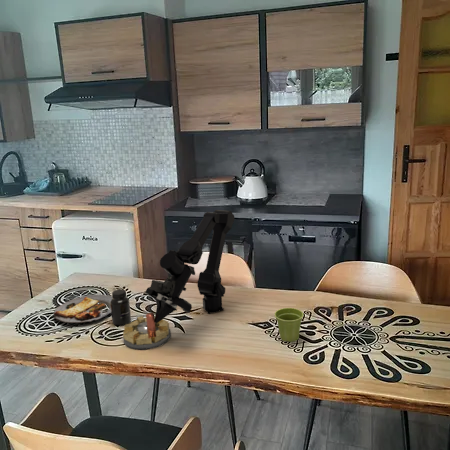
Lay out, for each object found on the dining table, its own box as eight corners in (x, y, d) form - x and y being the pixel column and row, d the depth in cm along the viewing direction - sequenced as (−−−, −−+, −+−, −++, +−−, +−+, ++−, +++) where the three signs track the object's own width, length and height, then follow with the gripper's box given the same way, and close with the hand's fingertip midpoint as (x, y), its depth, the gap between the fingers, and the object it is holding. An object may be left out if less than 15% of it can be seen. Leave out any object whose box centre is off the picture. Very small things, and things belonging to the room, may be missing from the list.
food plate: (84, 332, 161) (83, 323, 161) (40, 320, 173) (39, 311, 172) (131, 305, 182) (130, 297, 182) (89, 296, 194) (88, 289, 193)
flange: (154, 321, 167) (153, 310, 165) (180, 336, 155) (179, 324, 154) (115, 338, 156) (113, 325, 155) (139, 355, 145) (138, 342, 144)
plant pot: (285, 348, 145) (285, 323, 142) (269, 335, 153) (269, 312, 151) (309, 339, 149) (309, 315, 147) (292, 328, 157) (292, 305, 155)
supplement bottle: (126, 326, 164) (123, 296, 161) (109, 325, 165) (105, 295, 162) (134, 318, 170) (130, 288, 167) (117, 317, 172) (113, 287, 169)
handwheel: (150, 318, 165) (148, 294, 163) (178, 331, 155) (175, 305, 153) (115, 335, 155) (112, 309, 152) (142, 349, 145) (140, 322, 142)
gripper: (146, 264, 154) (122, 305, 149) (181, 275, 141) (156, 321, 136) (166, 279, 161) (145, 318, 157) (202, 290, 148) (179, 334, 144)
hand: (155, 322), depth 148 cm, fingers closed, pressing on handwheel
